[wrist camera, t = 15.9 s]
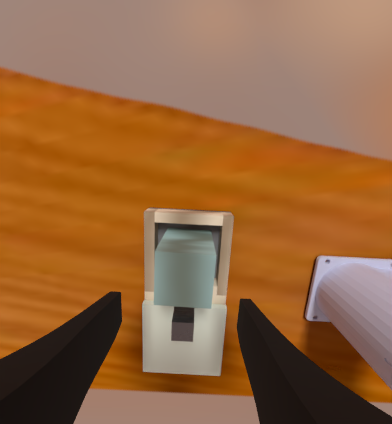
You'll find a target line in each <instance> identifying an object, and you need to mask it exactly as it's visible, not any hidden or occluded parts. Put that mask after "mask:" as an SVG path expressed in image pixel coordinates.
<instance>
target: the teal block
mask: <svg viewBox="0 0 392 424" xmlns="http://www.w3.org/2000/svg"><path fill="white" fill-rule="evenodd" d="M215 265H216V251H215V247H214V242H213V238H212V233H211V230H199V229H184V228H170V227H168V229H167V231H166V232H165V234H164V236H163V238H162V239H161V241H160V243H159V245H158V246H157V248H156V250H155V266H154V305H161V306H176V307H191V308H206V309H211V306H212V296H213V285H214V275H215Z"/></svg>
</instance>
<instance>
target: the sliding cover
mask: <svg viewBox="0 0 392 424" xmlns="http://www.w3.org/2000/svg"><path fill="white" fill-rule="evenodd" d="M226 313H227V307H226V305H222V304H212V306H211V309H206V308H191V307H176V306H161V305H154V301H148V300H144V301H143V304H142V331H143V372H156V373H174V374H192V375H210V376H220V374H221V364H222V354H223V344H224V333H225V323H226Z"/></svg>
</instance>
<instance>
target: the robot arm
mask: <svg viewBox="0 0 392 424" xmlns="http://www.w3.org/2000/svg"><path fill="white" fill-rule="evenodd" d="M327 259H328V260H327ZM326 260H327V262H325V261H326ZM305 317H306V319H307V320H309V321H323V322H332V324H333V325H334V326H335V327H336V328H337V329H338V330H339V331H340V333H341V334H342V335H343V336H344V337H345V338H346V339H347V340H348V342H349V343H350V344H351V345H352V346H353V347H354V348H355V349H356V350H357V352H358V353H359V354H360V355H361V356H362V357H363V358H364V359H365V361H366V362H367V363H368V364H369V365H370V366H371V367H372V368H373V370H374V371H375V372H376V373H377V374H378V375H379V376H380V377H381V378H382V380H383V381H384V382H385V383H386V384H387V385H388V386H389V387H390V389H391V390H392V259H375V258H357V257H338V256H319V257H317V259H316V263H315V268H314V273H313V278H312V283H311V288H310V293H309V298H308V303H307V307H306V312H305ZM121 322H122V309H121V292H109V293H108V294H106V295H105V296H103V297H102V298H101V299H99V300H98V301H97V302H95V303H94V304H92V305H91V306H90V307H88V308H87V309H85V310H84V311H83V312H81V313H80V314H78V315H77V316H75V317H74V318H72V319H71V320H69V321H68V322H66V323H65V324H63V325H62V326H60V327H59V328H57V329H55V330H54V331H52V332H50V333H49V334H47V335H45V336H43V337H42V338H40V339H38V340H36V341H35V342H33V343H31V344H29V345H27V346H25V347H23V348H21V349H19V350H17V351H16V352H14V353H12V354H10V355H8V356H6V357H4V358H2V359H0V424H73V423H74V421H75V418H76V416H77V414H78V412H79V409H80V407H81V405H82V402H83V400H84V398H85V396H86V394H87V391H88V390H89V388H90V385H91V384H92V382H93V380H94V378H95V376H96V374H97V372H98V370H99V369H100V367H101V365H102V363H103V361H104V359H105V357H106V355H107V353H108V352H109V350H110V348H111V346H112V344H113V342H114V340H115V338H116V335H117V333H118V330H119V328H120V325H121ZM237 331H238V338H239V343H240V348H241V352H242V355H243V359H244V363H245V366H246V370H247V373H248V377H249V381H250V384H251V388H252V391H253V395H254V399H255V403H256V407H257V412H258V417H259V421H260V424H392V417H391V416H390V415H388V414H386V413H385V412H383V411H382V410H380V409H378V408H377V407H375V406H374V405H372V404H370V403H369V402H367V401H366V400H364V399H363V398H361V397H360V396H358V395H357V394H356V393H354V392H353V391H351V390H350V389H348V388H347V387H345V386H344V385H343V384H341V383H340V382H338V381H337V380H336V379H334V378H333V377H332V376H330V375H329V374H328V373H326V372H325V371H324V370H322V369H321V368H320V367H319V366H317V365H316V364H315V363H314V362H312V361H311V360H310V359H309V358H308V357H306V356H305V355H304V354H303V353H302V352H301V351H300V350H298V349H297V348H296V347H295V346H294V345H293V344H292V343H291V342H290V341H289V340H288V339H287V338H286V337H285V336H284V335H283V334H281V333H280V331H279V330H278V329H277V328H276V327H275V326H274V325H273V324H272V323H271V322H270V321H269V320H268V319H267V318H266V316H265V315H264V314H263V313H262V312H261V311H260V310H259V308H258V307H257V306H256V305H255V304H254V303H253V302H252V300H251V299H240V305H239V313H238V322H237Z"/></svg>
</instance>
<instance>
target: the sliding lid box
mask: <svg viewBox="0 0 392 424" xmlns="http://www.w3.org/2000/svg"><path fill="white" fill-rule="evenodd" d="M233 221H234V216H233V214H232V213H231V212H223V211H204V210H185V209H166V208H148V209H147V210H146V211H144V267H145V300H148V301H154V266H155V250H156V248H157V246H158V245H159V243H160V241H161V239H162V238H163V236H164V234H165V232H166V231H167V229H168V227H170V228H184V229H199V230H211V233H212V238H213V242H214V247H215V251H216V265H215V275H214V285H213V296H212V304H222V305H225V304H226V294H227V283H228V273H229V263H230V252H231V242H232V232H233Z"/></svg>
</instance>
